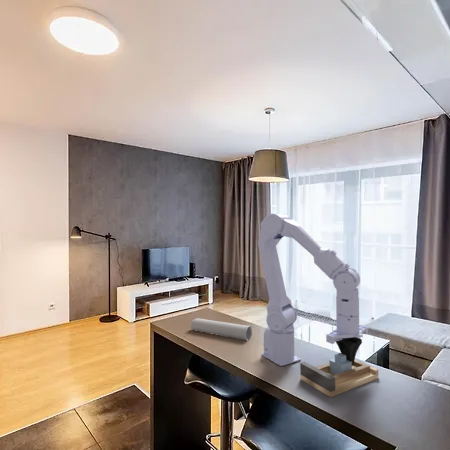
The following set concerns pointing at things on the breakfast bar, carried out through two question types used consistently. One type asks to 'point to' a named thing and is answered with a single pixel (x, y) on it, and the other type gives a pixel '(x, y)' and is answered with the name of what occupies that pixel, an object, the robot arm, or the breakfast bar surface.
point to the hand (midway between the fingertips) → (348, 364)
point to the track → (337, 377)
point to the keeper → (339, 364)
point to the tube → (222, 328)
